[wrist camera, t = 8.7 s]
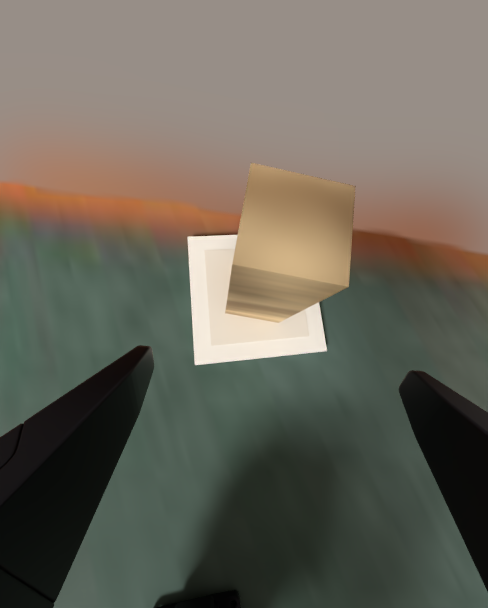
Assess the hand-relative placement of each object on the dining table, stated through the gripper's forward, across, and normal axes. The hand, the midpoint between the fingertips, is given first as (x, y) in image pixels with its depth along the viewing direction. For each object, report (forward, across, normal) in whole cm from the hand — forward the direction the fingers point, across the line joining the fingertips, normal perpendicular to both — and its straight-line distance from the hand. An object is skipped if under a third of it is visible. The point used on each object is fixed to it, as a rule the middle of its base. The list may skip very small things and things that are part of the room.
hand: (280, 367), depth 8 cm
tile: (+14, 0, +5) cm, 15 cm away
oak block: (+14, 0, +4) cm, 14 cm away
